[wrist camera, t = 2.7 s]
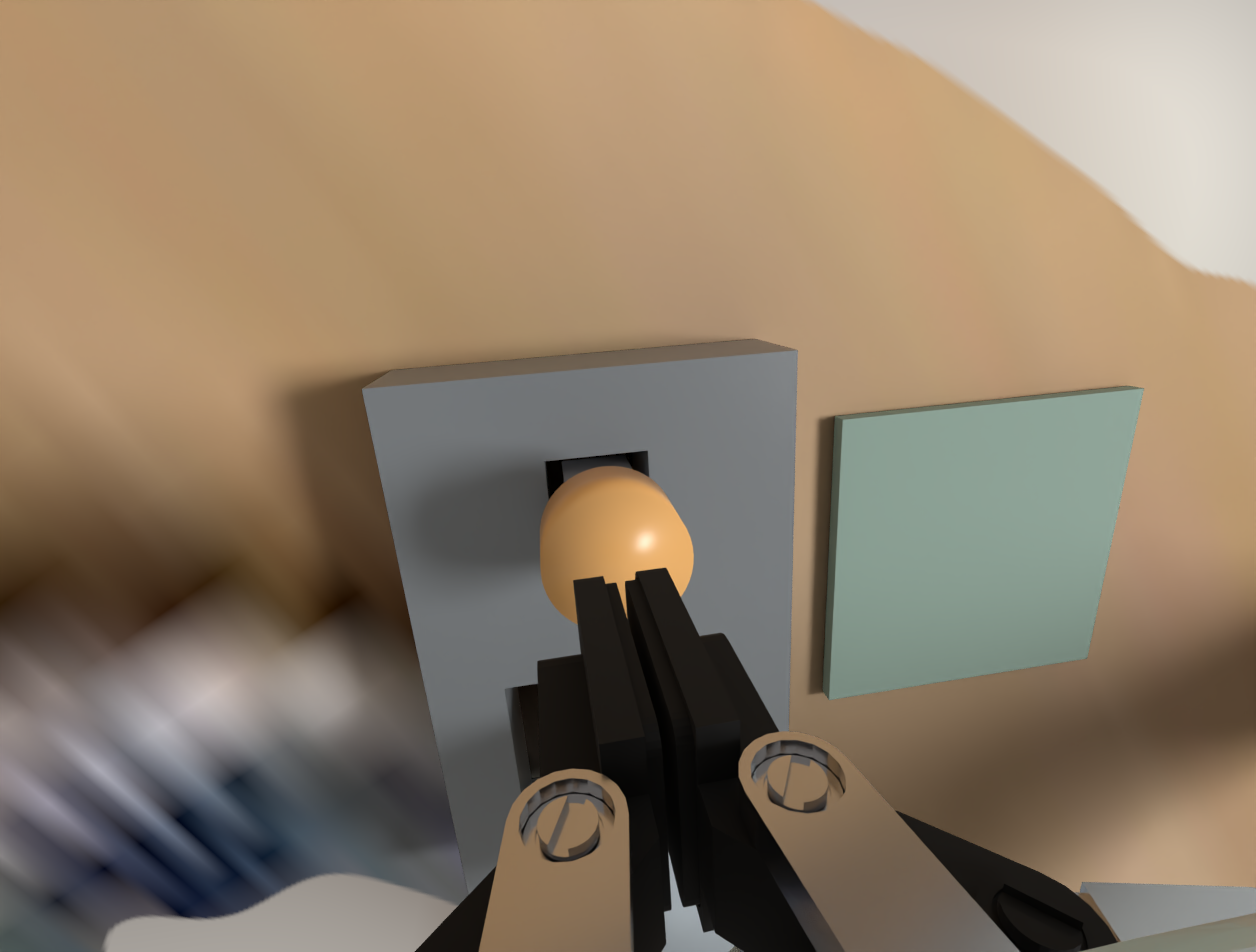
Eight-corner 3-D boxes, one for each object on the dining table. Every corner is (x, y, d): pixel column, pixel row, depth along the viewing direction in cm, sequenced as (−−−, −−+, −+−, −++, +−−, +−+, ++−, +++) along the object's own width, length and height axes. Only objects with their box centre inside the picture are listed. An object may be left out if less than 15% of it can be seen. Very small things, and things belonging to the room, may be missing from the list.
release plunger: (648, 427, 19) (691, 483, 14) (654, 532, 20) (696, 621, 15) (532, 439, 18) (531, 501, 13) (545, 546, 19) (549, 642, 14)
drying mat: (1129, 385, 23) (1143, 388, 23) (1075, 650, 27) (1087, 658, 26) (834, 416, 22) (842, 419, 21) (822, 690, 26) (829, 700, 25)
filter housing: (755, 339, 20) (797, 350, 17) (755, 776, 26) (785, 846, 23) (391, 370, 19) (361, 389, 16) (479, 824, 25) (470, 906, 22)
